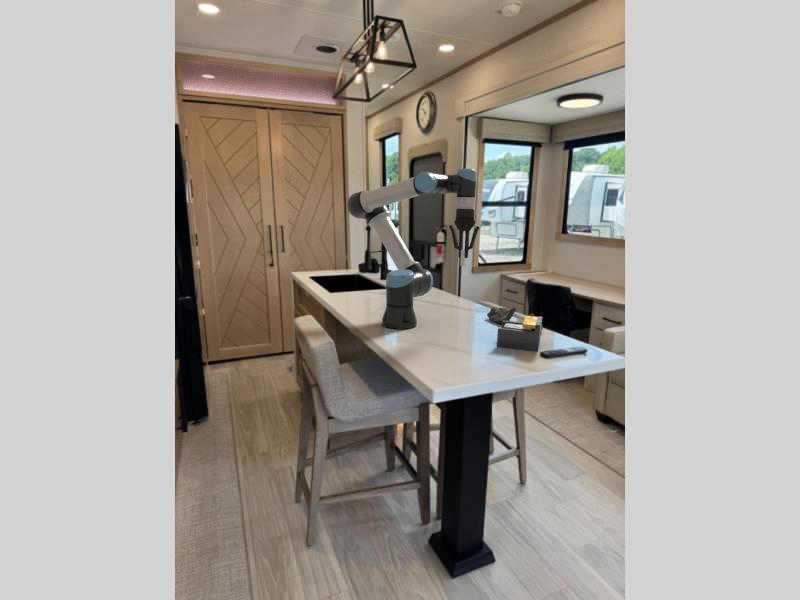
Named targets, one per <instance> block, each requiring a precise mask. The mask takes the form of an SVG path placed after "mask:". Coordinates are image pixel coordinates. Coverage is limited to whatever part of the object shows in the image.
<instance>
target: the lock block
mask: <svg viewBox="0 0 800 600" xmlns="http://www.w3.org/2000/svg"><path fill="white" fill-rule="evenodd" d="M522 326H523V325H519V324H510V323H506V324H505V326H504V328H507V329H516V330H525V331H533V328H525V327H522Z"/></svg>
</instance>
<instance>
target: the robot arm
mask: <svg viewBox="0 0 800 600" xmlns="http://www.w3.org/2000/svg"><path fill="white" fill-rule="evenodd" d="M476 187H477V171H476V170H475V169H474V168H459V169H458V170H457V174H443V173H442V174H441V173H435V172H431V171H421V172H419V173H418V174H417V175H416V176H413V177H410V178H406V179H404V180H401V181H398V182H394V183H392V184H388V185H386V186H385V185H384V186H382V187H381V186H380V187H379V188H375V189H373V190H368V189H367V190H366V189H365V190H361V191H357V192H354V193H353V194H351V195H350V196H348V199H347V201H346V208H347V211H348V213H349V214H350V215H351V216H352V217H353V218H356V219H359V220H360V219H361V220H363V219H364V220H365V222H366V223H367V225H368V227H371V228H373V229H374V231H375V232H376V233H377V236H378V238H379V239H380V241H381V243H382V244H383V246H384V247H385V248H384V249H386V251H387V253H388V255H389V257H390V258H391V260H392V262H393V264H394V265H395V267H396V268H397V269H395V270H392V271H389V272H388V273H387V275H386V280H385V283H386V284H385V285H386V288H385V290H386V292H385V293H386V294H385V295H386V297H385V298H386V299H385V300H386V301H385V310H384V314H383V317H382V319H381V325H382V326H383V327H384V326H385V327H384V328H387V327H389V328H388V329H392V328H396V329H395V330H407V329H406V328H409V329H413V328H416V325H418V319H417V317H416V313H415V309H414V299H415V298H417V297H421V296H425V295H426V294H428V293H429V292H430V291H431V290H432V288H433V285H434V277H433V274H432V273H431V271H429V270H427V269H425V268H424V267H422V264H421V263H420V261H415V260H414V257H413V255H412V253H411V252H410V251H409V249H408V248H407V246H406V243H405V242H404V240H403V238H402V237H401V235H400V233H399V232H398V229H396V227H395V225H394V223H393V221H392V220H391V212H390V211H391V210H390V209H391V208H390V206H391V204H395V203H398V202H403V201H404V200H405V201H406V200H409V199H412V198H416V197H418V196H423V195H426V194H437V195H438V194H439V195H441V194H442V195H443V194H456V204H455V205H456V206H455V207H456V208H457V209H455V220H454V222H453V224H450V225H449V226H448V228H449V231H451V237H452V243H453V247H454V249H456V250H458V258H459V259H460V267H465V266H466V262H467V261H466V259H468V258H469V251H470V250H472V249H474V245H475V241H476V239H477V235H478V232H479V230H480V229H481V225H478V224H476V221H475V213H476V212H475V209H474V208H475V207H476V189H477V188H476ZM456 228H457V231H458V236H457V232H456ZM472 229H473V233H472V237H471V240H470V233H471V232H470V231H472ZM464 234H465V235H464ZM412 327H413V328H412Z"/></svg>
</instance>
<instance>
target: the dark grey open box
mask: <svg viewBox="0 0 800 600" xmlns="http://www.w3.org/2000/svg"><path fill="white" fill-rule="evenodd" d="M523 320H524V322H516V321H513V320H507V321H504V320H503V321H502V325H501V327H498V328H497V337H496V347H497V348H501V349H511V350H519V351H525V352H528V351H529V352H535V353H538V352H539V348H540V345H541V344H540V343H541V338H542V337H541V336H542V335H541V333H542V331H541V325H542V326H543V324H542V323H543V316H535V317H532V316H529V315H525V318H523ZM506 323H510V324H519V325H523V326H522V327H525V328H533V331H525V330H516V329H507V328H504V326H505V324H506Z"/></svg>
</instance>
